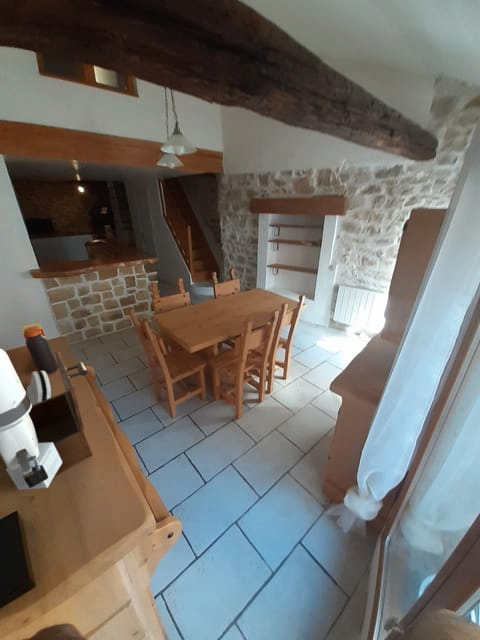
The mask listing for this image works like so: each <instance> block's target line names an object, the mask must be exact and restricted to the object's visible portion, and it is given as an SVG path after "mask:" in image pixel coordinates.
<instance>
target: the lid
mask: <svg viewBox="0 0 480 640" xmlns="http://www.w3.org/2000/svg"><path fill="white" fill-rule="evenodd" d="M54 354H55V356H56V357H55V358H56V362H57V365H58V369H59V372H60V376H61V379H62V385H63V388H64V392H66V394H67V396H68V399H69V401H70V404H71V407H72V409H73V412H74V415H75V417H76V420H77V422H78V425H79V428H80V430H81V431H82V430H83V431H84V430H85V428H84V423H83V420H82V415H81V411H80V407H79V403H78V399H77V395H76V390H75V387H74V384H73V382H72V378H75V377H78V376H82V377H85V376H87V374H88V370H87V367H86V366H85V364H84V363H83V362H81V361H79V362H77V363H76V364H75V365H72V366H68V367H66V365H65V363H64V361H63V359H62V356H61V354H60V352H59V350H57V351H56V350H55V352H54ZM75 369H77V372H74V373H71V374H69V371H72V370H75Z"/></svg>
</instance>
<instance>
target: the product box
mask: <svg viewBox="0 0 480 640" xmlns="http://www.w3.org/2000/svg"><path fill="white" fill-rule="evenodd" d="M38 447H39V453H40V454H39V456H38V458H37V459H38V461H39V464H40V465H43V467H44V469H45V471H46V473H47V475H48V479H46V480H44V481H43V482H41V483H39V484H37V485H35V486H34V487H32V488H29V486H28V485H27V483H26V482H25V480H24V478H23V476H22V473H21V471H20V468H19V466H18V467H17V468H16V469H14V470H9V469H8V467H7V466H6V469H5V471H6V472H7V474H8V475H9V477H10V478H11V481H13V483H14V485H15V487H16V488H17V490H18V491H21V490H22V491H24V490H39V489H41V490H42V489H48V488H49V487H50V485H51V483H52V481H53V479H54V478H55V477H56V476H55V474H56V472H57V471H58V469H59V467H60V466H61V464H62V460H61V458H60V456H59V454H58V452H57V450H56V448H55V446H54V444H53V442H50V443H38ZM29 457H31V455H29V454H28V458H29ZM30 465H31V467H34V466H35V463H34V461H33V460H32V461H30Z"/></svg>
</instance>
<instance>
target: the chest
mask: <svg viewBox="0 0 480 640" xmlns="http://www.w3.org/2000/svg"><path fill="white" fill-rule="evenodd" d="M28 414H29V416H30V418H31V420H32V423H33V425H34V428H35V432H36V436H37V438H38V440H39V442H40V443H50V442H53V444H54V446H55V448H56V450H57V452H58V454H59V456H60V458H61V460H62V464H61V466H60V467H59V469H58V471H57V472H56V474H55V476H54V477H56V476H58V475H60V474H62V473H63V472H65V471H67V470H68V469H71V468H72V467H74V466H76V465H77V464H80V462H83V461H84V460H86V459H88V458H90V457H92V456H93V453H92V450H91V447H90V445H89V442H88V439H87V437H86V435H85V432H84V430H82V431H81V430H80V428H79V425H78V422H77V420H76V417H75V415H74V412H73V409H72V407H71V404H70V401H69V399H68V396H67V394H66V391H64V392H61V393H59V394H57V395H54V396H51V398H49V399H47V400H44V401H42V402H39V403H37V404H34V405H32V408H31V410H30V412H29V413H28Z"/></svg>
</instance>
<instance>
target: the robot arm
mask: <svg viewBox="0 0 480 640" xmlns="http://www.w3.org/2000/svg"><path fill="white" fill-rule="evenodd" d="M31 408H32V404H31V402H30V400H29V398H28V395H27V391H26V390H25V387H24V386H23V384H22V381H21V380H20V378H19V375H18V374H17V371H16V369H15V368H14V365H13V363H12V362H11V359H10V357H9V355H8V354H7V352H6V351H5V350H4V349H2V348H0V456H1V458H2V460H3V462H4V463H5V466H6V468H7V467H8V469H9V470H14V469H16V468H17V467H18V466H19V468H20V471H21V473H22V476H23V478H24V480H25V482H26V483H27V485H28V486H29V488H32V487H34V486H35V485H37V484H39V483H41V482H43V481H44V480H46V479H48V475H47V473H46V471H45V469H44V467H43V465H40V464H39V461H38V459H37V458H38V456H39V454H40V453H39V447H38V443H40V442H39V440H38V438H37V436H36V432H35V428H34V425H33V423H32V420H31V418H30V416H29V414H28V413H29V412H30V410H31ZM28 454H29V455H31V457H29V458H28ZM32 460H33V461H34V463H35V466H34V467H31V465H30V461H32Z"/></svg>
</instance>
